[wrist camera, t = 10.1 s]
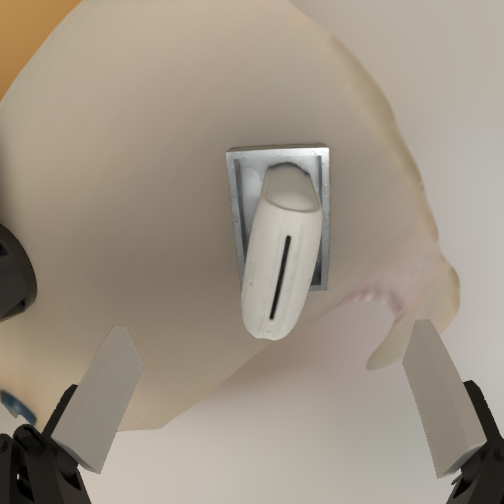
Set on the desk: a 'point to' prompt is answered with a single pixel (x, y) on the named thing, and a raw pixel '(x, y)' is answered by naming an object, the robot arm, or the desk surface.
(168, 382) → the desk surface
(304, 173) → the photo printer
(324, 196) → the grey rectangular tray
